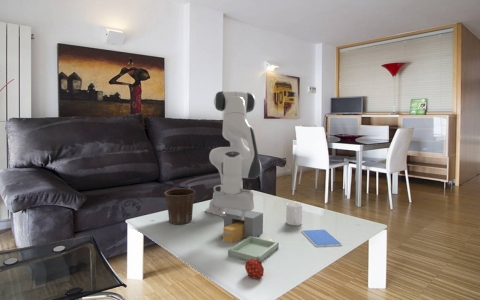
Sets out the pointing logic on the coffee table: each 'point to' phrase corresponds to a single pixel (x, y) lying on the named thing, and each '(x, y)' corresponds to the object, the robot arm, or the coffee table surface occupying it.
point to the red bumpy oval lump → (254, 268)
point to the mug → (294, 213)
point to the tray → (253, 249)
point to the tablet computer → (321, 238)
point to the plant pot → (180, 205)
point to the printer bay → (246, 221)
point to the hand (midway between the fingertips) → (233, 218)
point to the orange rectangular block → (233, 232)
